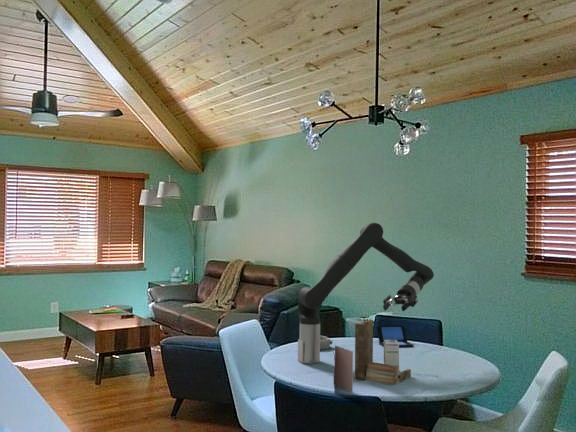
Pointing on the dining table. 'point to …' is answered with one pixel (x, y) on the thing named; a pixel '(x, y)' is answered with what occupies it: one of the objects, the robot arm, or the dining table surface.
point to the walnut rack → (367, 351)
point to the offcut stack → (382, 373)
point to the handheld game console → (393, 334)
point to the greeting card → (343, 368)
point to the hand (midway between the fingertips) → (393, 308)
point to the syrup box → (391, 352)
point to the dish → (325, 342)
